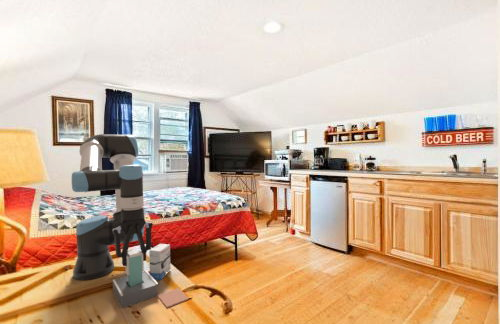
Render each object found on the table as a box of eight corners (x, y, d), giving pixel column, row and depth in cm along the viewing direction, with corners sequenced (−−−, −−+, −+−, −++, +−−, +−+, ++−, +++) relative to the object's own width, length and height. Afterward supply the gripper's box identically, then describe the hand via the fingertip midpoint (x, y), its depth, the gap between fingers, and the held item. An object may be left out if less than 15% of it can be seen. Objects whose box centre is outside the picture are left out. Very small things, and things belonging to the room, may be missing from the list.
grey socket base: (112, 291, 96) (112, 279, 95) (146, 280, 103) (146, 269, 103) (121, 308, 85) (121, 295, 84) (158, 295, 92) (158, 283, 92)
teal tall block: (127, 286, 94) (126, 251, 94) (139, 283, 97) (138, 249, 96) (130, 291, 91) (129, 255, 91) (142, 287, 94) (141, 252, 93)
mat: (157, 296, 91) (157, 295, 91) (181, 287, 97) (181, 286, 97) (166, 308, 84) (166, 306, 84) (192, 298, 90) (192, 296, 90)
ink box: (160, 280, 103) (159, 251, 102) (149, 279, 104) (148, 250, 103) (171, 270, 111) (170, 243, 111) (160, 270, 112) (159, 243, 112)
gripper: (107, 213, 85) (110, 283, 86) (159, 206, 95) (161, 268, 96) (103, 209, 90) (106, 275, 91) (153, 203, 101) (155, 262, 102)
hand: (134, 271), depth 94 cm, fingers closed on teal tall block, 4 cm apart
